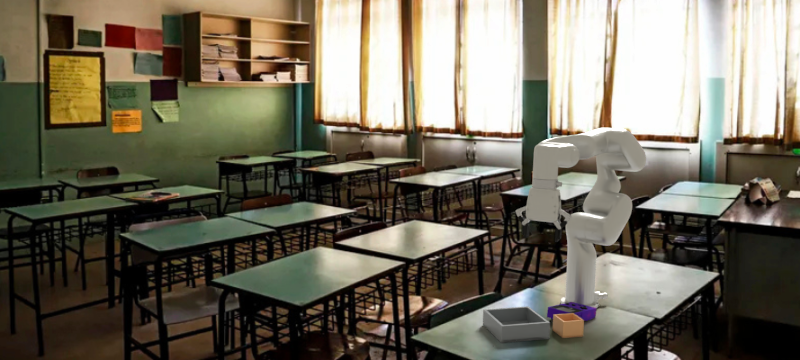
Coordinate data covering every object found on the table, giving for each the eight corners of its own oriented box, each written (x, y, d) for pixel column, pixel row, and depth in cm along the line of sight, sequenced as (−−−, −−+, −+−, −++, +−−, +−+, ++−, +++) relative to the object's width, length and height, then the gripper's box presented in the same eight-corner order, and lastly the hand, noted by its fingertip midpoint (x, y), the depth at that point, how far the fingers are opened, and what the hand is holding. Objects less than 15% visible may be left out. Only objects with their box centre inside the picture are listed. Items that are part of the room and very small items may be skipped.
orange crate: (572, 328, 207) (573, 313, 206) (583, 336, 201) (583, 320, 200) (552, 330, 205) (553, 314, 205) (562, 338, 199) (563, 321, 198)
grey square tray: (527, 321, 213) (528, 306, 212) (549, 338, 198) (549, 322, 198) (482, 325, 209) (483, 309, 208) (501, 343, 195) (502, 326, 194)
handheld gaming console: (597, 306, 218) (573, 312, 207) (595, 322, 218) (572, 329, 207) (571, 300, 224) (547, 305, 213) (569, 315, 224) (545, 321, 213)
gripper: (575, 185, 207) (572, 240, 209) (521, 181, 215) (518, 234, 217) (569, 188, 200) (566, 245, 202) (513, 183, 208) (510, 238, 210)
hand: (541, 239), depth 209 cm, fingers open, 9 cm apart
